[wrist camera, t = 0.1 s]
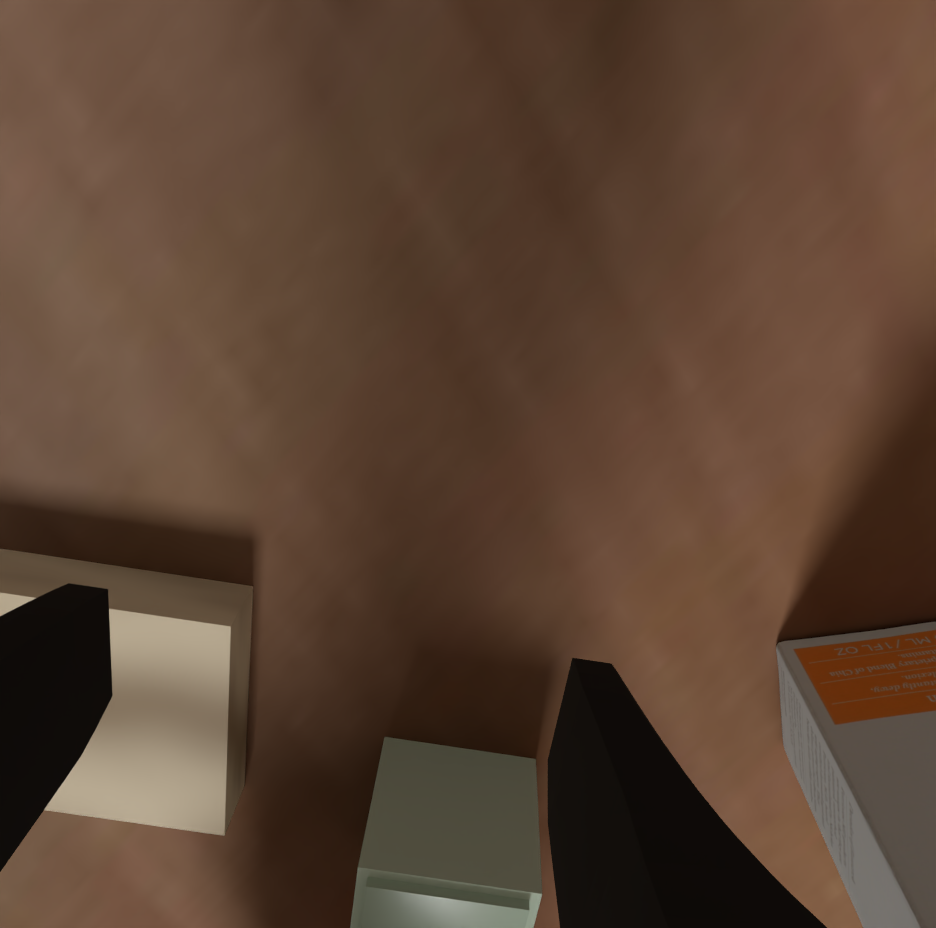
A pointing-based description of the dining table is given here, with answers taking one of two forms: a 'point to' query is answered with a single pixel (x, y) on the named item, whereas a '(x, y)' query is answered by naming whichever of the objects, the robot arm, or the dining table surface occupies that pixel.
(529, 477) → the dining table surface
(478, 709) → the dining table surface
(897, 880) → the skincare box
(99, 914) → the dining table surface
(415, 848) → the sage box
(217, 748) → the maple block
